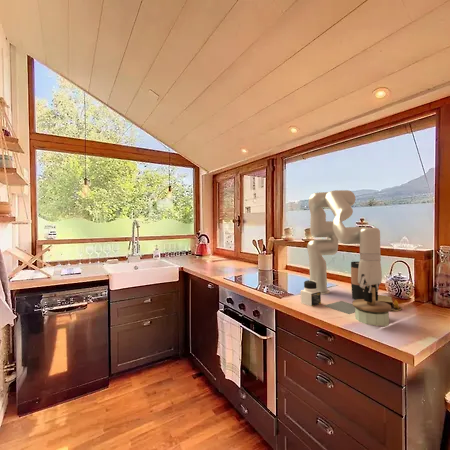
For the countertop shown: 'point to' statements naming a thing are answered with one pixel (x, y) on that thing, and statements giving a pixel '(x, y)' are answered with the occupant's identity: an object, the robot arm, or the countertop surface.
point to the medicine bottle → (310, 294)
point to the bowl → (372, 317)
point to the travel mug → (356, 282)
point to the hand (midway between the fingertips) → (371, 300)
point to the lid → (372, 304)
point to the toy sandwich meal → (389, 302)
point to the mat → (342, 307)
